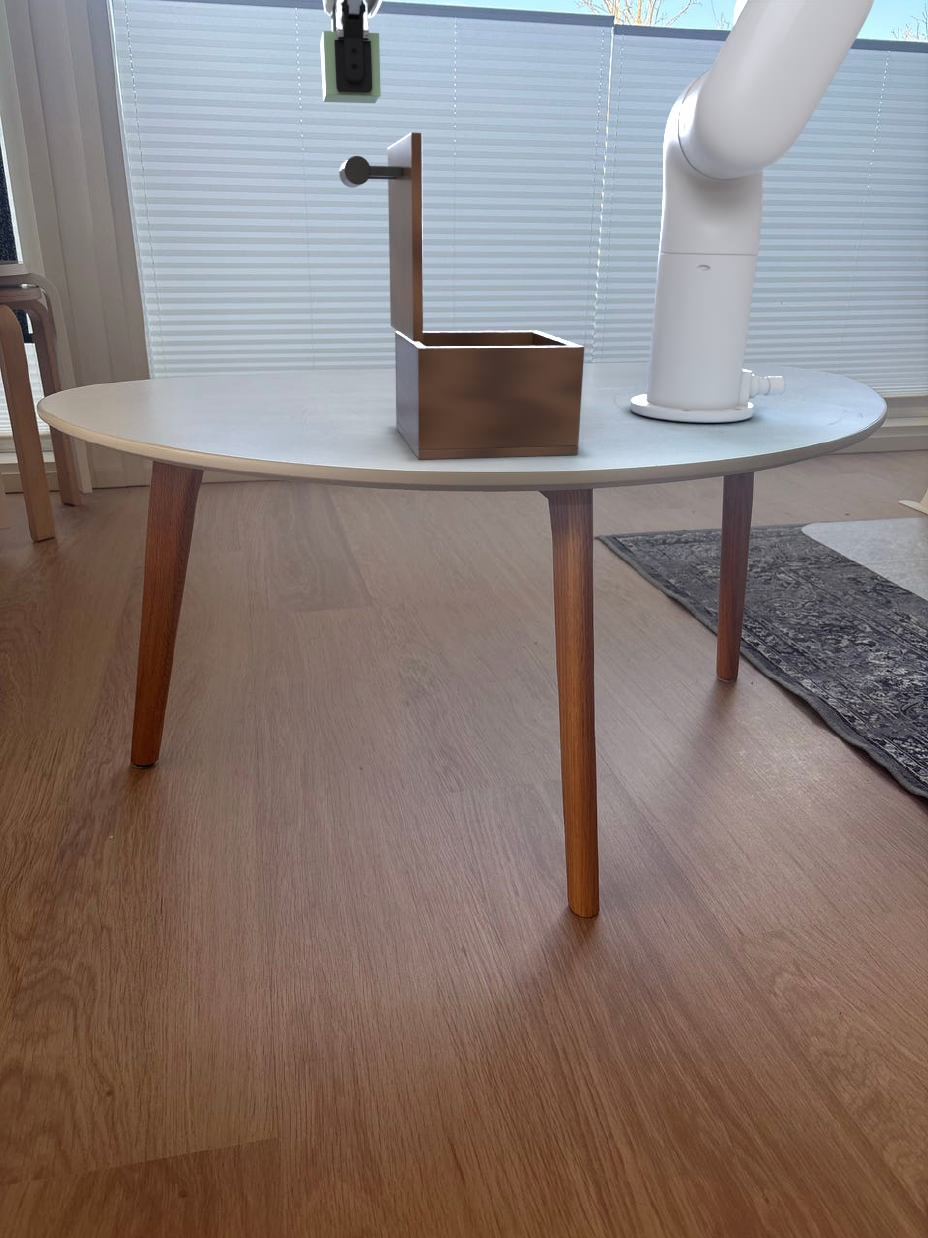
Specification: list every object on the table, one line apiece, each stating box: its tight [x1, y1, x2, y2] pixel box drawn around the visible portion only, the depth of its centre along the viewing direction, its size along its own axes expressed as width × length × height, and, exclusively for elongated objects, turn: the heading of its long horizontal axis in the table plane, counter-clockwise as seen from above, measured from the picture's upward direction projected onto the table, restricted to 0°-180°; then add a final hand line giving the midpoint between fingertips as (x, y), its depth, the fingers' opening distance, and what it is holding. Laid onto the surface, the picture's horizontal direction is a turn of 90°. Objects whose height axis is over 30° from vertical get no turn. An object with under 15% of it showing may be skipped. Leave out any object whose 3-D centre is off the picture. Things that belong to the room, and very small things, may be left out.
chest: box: [394, 330, 585, 461], centre depth 82 cm, size 14×14×9 cm
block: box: [320, 30, 382, 104], centre depth 86 cm, size 5×5×5 cm
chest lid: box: [338, 131, 424, 342], centre depth 75 cm, size 14×14×5 cm
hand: (351, 93), depth 87 cm, fingers closed on block, 5 cm apart
